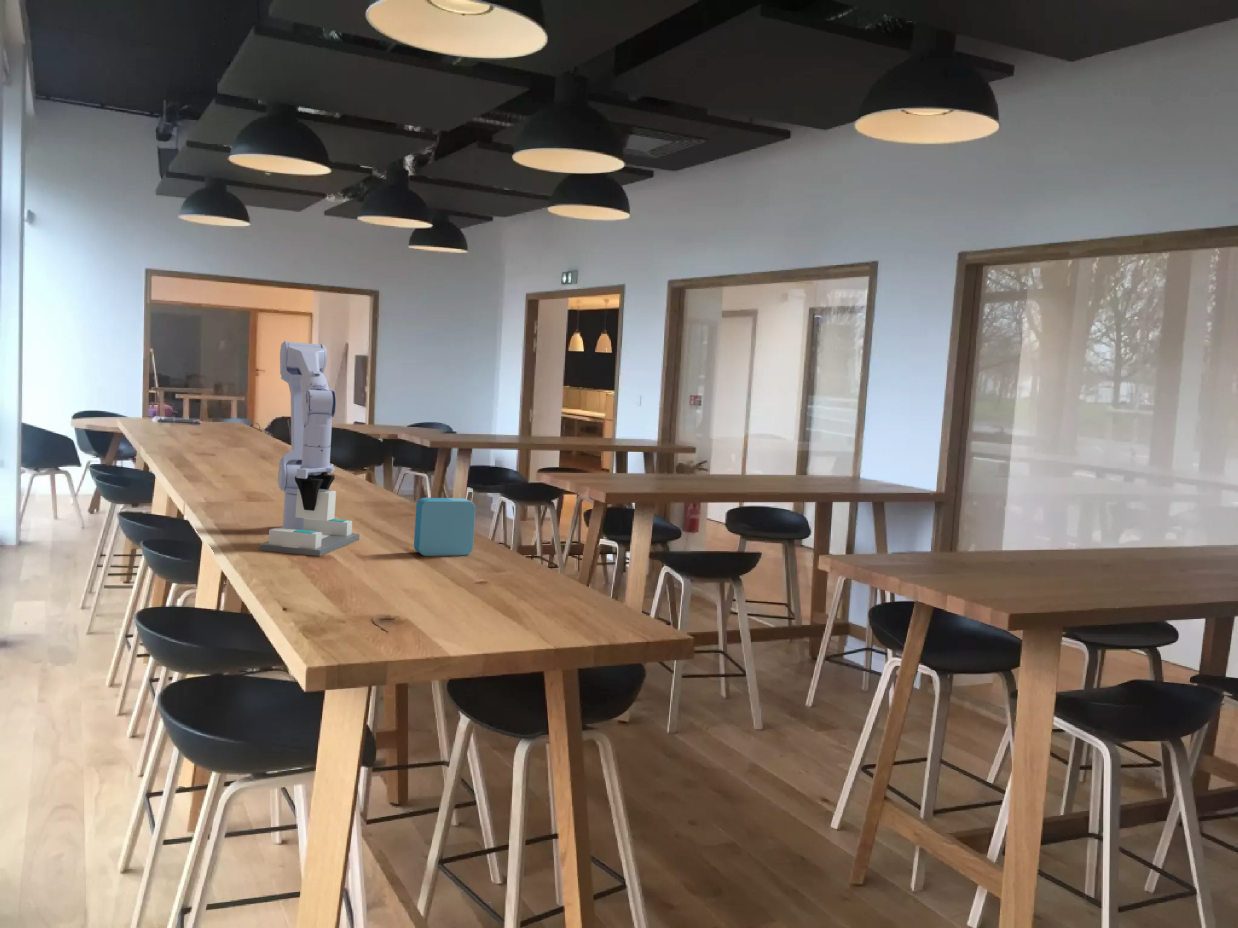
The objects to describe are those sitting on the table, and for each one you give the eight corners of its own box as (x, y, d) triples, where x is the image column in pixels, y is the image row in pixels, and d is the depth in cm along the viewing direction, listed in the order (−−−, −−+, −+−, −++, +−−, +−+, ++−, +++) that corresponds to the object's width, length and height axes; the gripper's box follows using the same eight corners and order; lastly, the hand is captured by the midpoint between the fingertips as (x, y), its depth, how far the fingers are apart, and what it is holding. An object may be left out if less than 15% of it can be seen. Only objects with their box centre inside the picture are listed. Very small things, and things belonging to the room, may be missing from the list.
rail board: (304, 533, 219) (305, 514, 219) (359, 539, 218) (360, 520, 218) (259, 549, 198) (260, 529, 197) (320, 556, 196) (321, 535, 196)
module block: (303, 514, 210) (305, 486, 209) (334, 518, 209) (336, 490, 209) (295, 517, 206) (297, 488, 205) (326, 520, 205) (328, 492, 205)
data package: (466, 551, 214) (469, 498, 213) (472, 555, 210) (476, 501, 209) (413, 552, 209) (416, 497, 208) (418, 556, 205) (422, 500, 204)
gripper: (321, 449, 199) (317, 514, 200) (347, 445, 213) (344, 506, 214) (288, 446, 199) (285, 511, 200) (316, 442, 214) (313, 503, 215)
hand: (313, 508), depth 207 cm, fingers closed on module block, 4 cm apart
